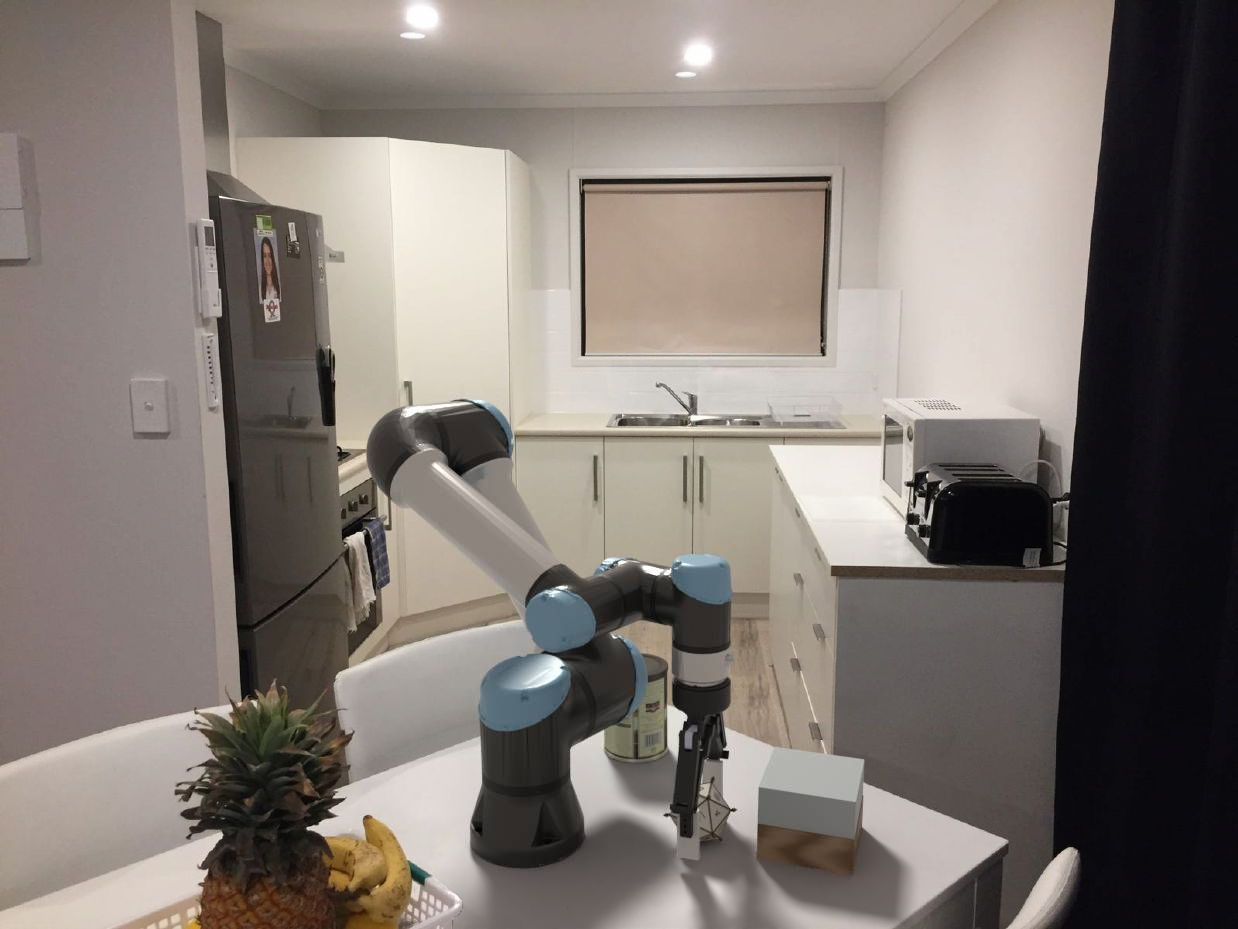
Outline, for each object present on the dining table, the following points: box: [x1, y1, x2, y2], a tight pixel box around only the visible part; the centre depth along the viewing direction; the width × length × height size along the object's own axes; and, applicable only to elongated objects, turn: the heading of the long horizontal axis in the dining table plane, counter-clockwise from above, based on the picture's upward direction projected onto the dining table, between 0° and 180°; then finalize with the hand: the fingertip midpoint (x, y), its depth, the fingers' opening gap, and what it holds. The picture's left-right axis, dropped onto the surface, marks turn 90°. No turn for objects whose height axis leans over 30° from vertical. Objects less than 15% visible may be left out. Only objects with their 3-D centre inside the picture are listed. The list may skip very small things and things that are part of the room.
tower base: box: [756, 796, 864, 877], centre depth 131 cm, size 12×12×5 cm
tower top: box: [757, 746, 865, 840], centre depth 130 cm, size 12×12×5 cm
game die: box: [662, 776, 738, 844], centre depth 131 cm, size 9×8×10 cm
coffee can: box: [603, 652, 669, 764], centre depth 157 cm, size 10×10×14 cm
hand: (700, 830), depth 131 cm, fingers open, 13 cm apart
